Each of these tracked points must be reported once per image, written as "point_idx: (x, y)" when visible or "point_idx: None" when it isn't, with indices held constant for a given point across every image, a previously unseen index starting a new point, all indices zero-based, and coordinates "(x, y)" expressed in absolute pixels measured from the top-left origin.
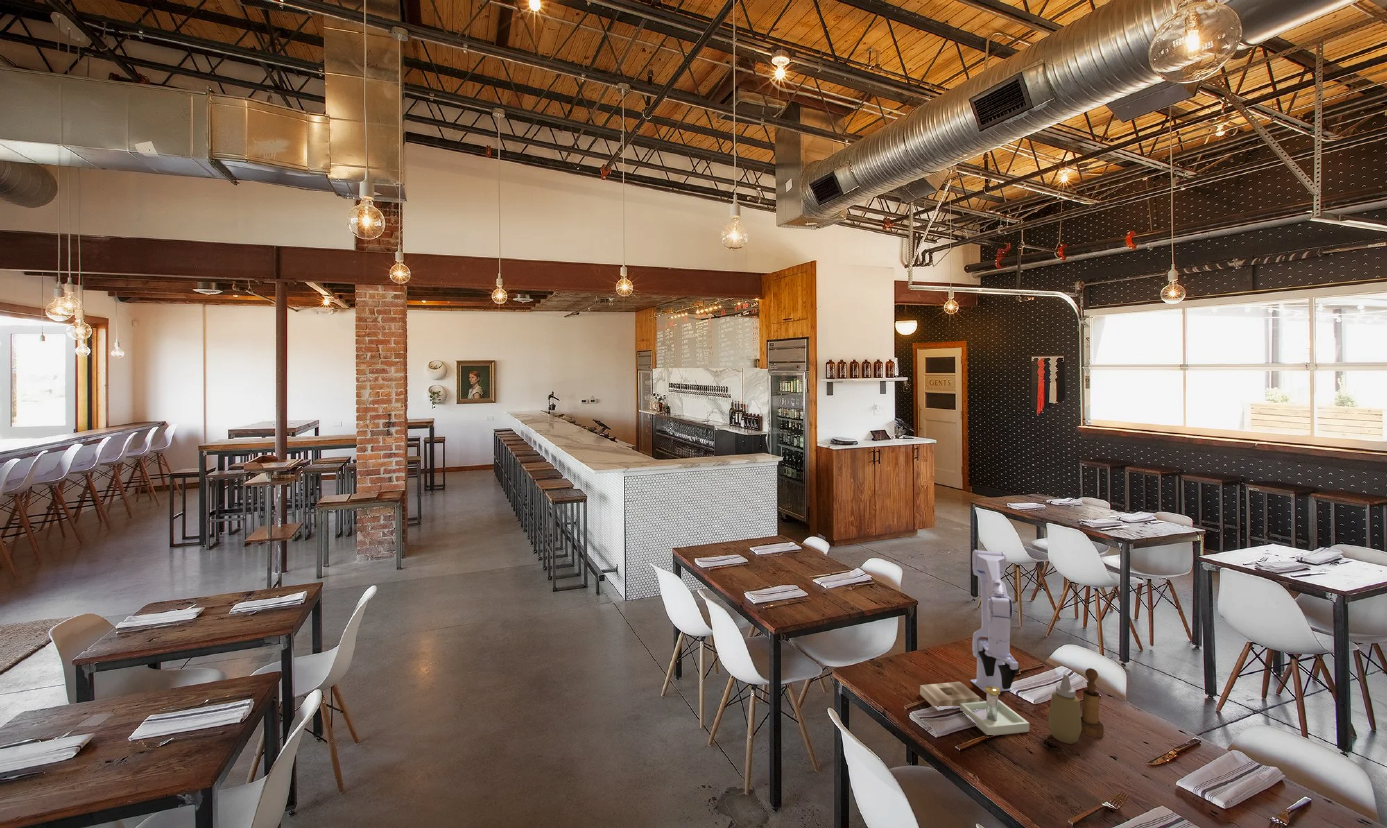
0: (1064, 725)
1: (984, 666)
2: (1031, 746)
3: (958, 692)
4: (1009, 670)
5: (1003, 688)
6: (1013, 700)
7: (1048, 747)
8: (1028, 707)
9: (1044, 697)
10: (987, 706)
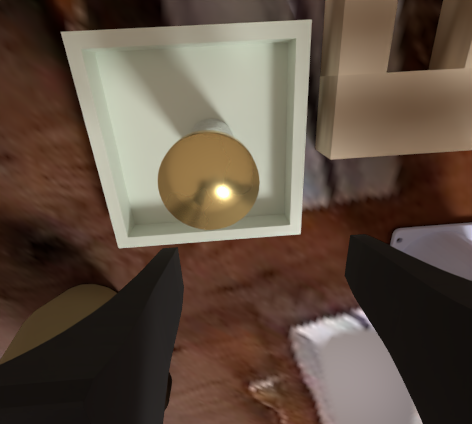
0: (12, 341)
1: (412, 263)
2: (24, 183)
3: (403, 73)
4: None
5: (166, 248)
6: (323, 288)
7: (28, 236)
8: (274, 306)
9: (315, 367)
10: (208, 126)
